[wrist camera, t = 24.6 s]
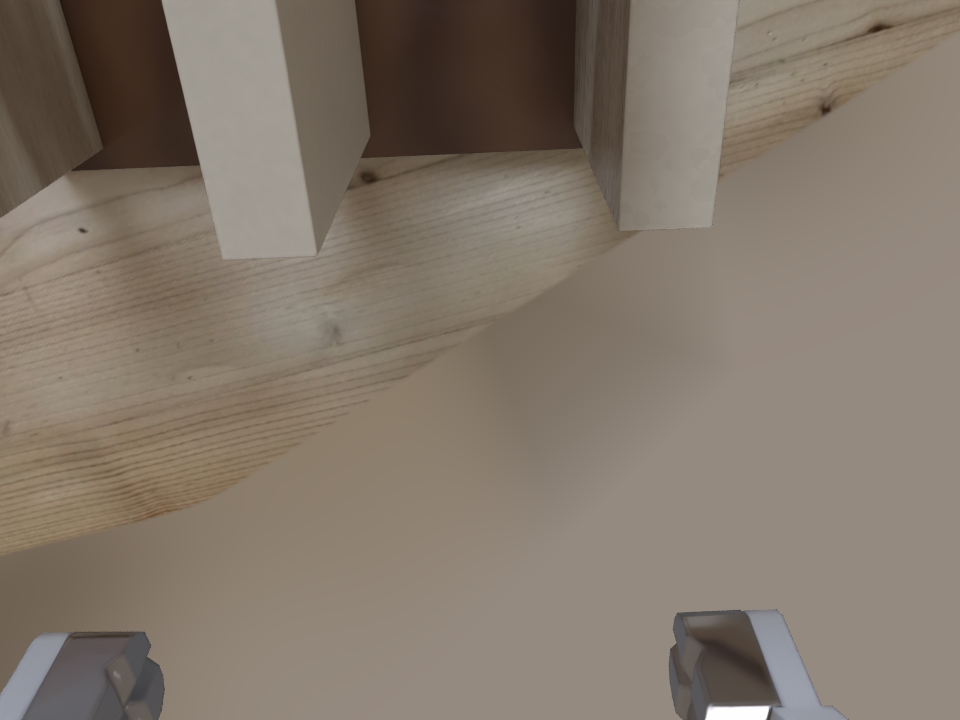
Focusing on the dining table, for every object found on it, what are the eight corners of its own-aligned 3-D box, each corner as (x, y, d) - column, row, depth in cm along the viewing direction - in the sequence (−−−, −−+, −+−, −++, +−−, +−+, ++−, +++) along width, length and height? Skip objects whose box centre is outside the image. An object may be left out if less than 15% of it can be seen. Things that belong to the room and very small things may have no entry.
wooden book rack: (647, -102, 32) (753, -102, 20) (633, 140, 37) (709, 257, 25) (-21, -69, 32) (-316, -49, 20) (58, 165, 37) (-139, 292, 25)
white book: (348, -59, 31) (270, -32, 20) (370, 136, 36) (317, 257, 24) (276, -56, 32) (154, -27, 20) (306, 139, 36) (221, 261, 24)
